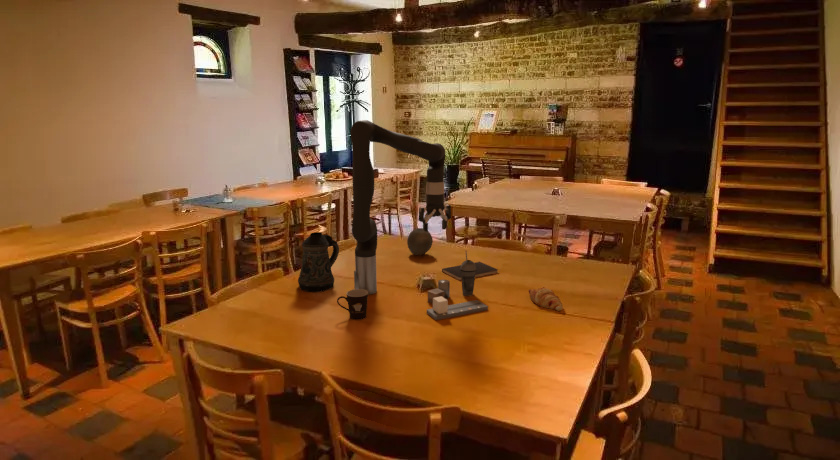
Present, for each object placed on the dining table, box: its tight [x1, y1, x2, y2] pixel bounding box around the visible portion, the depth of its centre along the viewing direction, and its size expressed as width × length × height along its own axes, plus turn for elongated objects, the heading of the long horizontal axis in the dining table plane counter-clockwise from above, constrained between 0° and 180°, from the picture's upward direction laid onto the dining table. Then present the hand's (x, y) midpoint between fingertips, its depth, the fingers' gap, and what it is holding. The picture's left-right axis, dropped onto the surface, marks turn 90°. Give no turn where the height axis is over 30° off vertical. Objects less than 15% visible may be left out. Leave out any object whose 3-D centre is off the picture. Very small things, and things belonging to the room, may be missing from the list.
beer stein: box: [297, 231, 340, 293], centre depth 242 cm, size 16×19×25 cm
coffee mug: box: [336, 288, 369, 321], centre depth 208 cm, size 12×9×10 cm
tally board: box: [426, 299, 489, 321], centre depth 214 cm, size 24×8×2 cm, turn 116°
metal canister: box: [437, 279, 451, 300], centre depth 229 cm, size 5×5×7 cm
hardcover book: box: [441, 261, 499, 281], centre depth 263 cm, size 16×23×2 cm
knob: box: [432, 296, 449, 314], centre depth 210 cm, size 4×5×5 cm
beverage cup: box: [460, 250, 476, 297], centre depth 231 cm, size 7×7×20 cm
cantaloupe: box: [406, 227, 434, 256], centre depth 291 cm, size 14×14×15 cm
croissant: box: [528, 287, 564, 312], centre depth 222 cm, size 21×10×8 cm, turn 27°
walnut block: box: [427, 287, 444, 305], centre depth 224 cm, size 5×5×5 cm
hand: (434, 230), depth 222 cm, fingers open, 8 cm apart
